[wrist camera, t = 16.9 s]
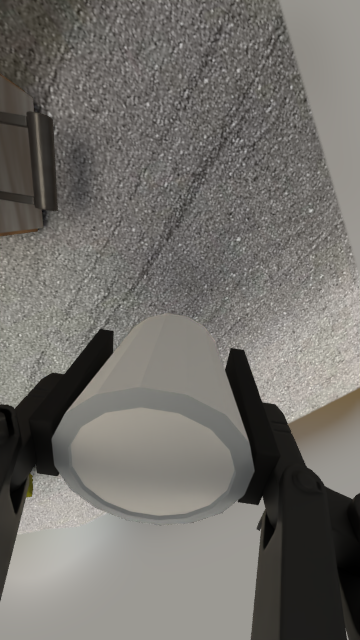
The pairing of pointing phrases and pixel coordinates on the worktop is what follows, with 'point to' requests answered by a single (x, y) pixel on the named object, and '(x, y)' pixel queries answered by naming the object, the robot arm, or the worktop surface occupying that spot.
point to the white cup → (157, 429)
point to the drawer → (25, 161)
